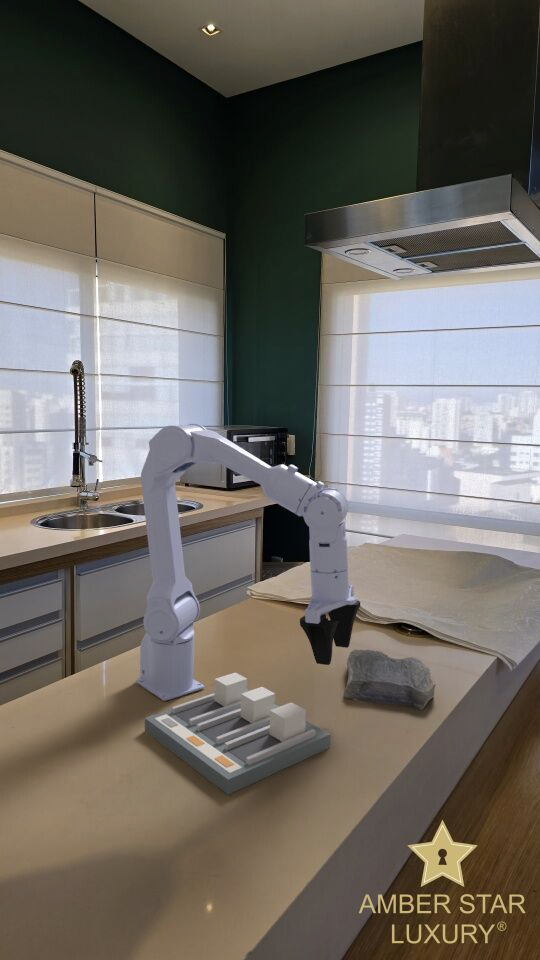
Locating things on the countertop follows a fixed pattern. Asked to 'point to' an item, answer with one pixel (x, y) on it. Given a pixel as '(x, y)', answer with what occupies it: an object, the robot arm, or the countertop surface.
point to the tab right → (287, 721)
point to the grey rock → (388, 679)
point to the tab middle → (257, 704)
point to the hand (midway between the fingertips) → (333, 654)
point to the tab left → (229, 689)
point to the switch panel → (230, 742)
